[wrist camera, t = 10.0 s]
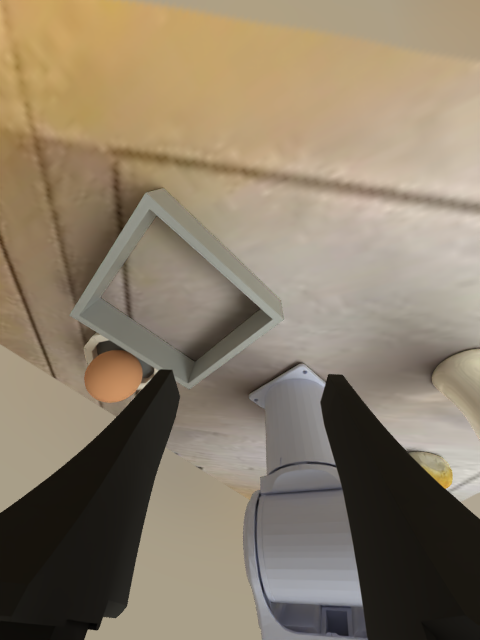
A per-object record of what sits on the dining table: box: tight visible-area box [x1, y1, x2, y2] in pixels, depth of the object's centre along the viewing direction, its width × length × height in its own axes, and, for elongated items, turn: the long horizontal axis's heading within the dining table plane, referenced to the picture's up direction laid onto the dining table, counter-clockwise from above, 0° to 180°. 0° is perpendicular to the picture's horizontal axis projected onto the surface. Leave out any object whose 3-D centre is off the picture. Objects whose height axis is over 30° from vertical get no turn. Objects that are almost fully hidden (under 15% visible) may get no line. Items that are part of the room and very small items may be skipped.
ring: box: [84, 332, 158, 389], centre depth 25 cm, size 8×8×1 cm
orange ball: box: [84, 350, 143, 403], centre depth 23 cm, size 5×5×5 cm
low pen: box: [70, 188, 284, 389], centre depth 19 cm, size 12×12×3 cm
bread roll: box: [409, 452, 452, 489], centre depth 33 cm, size 8×9×4 cm
